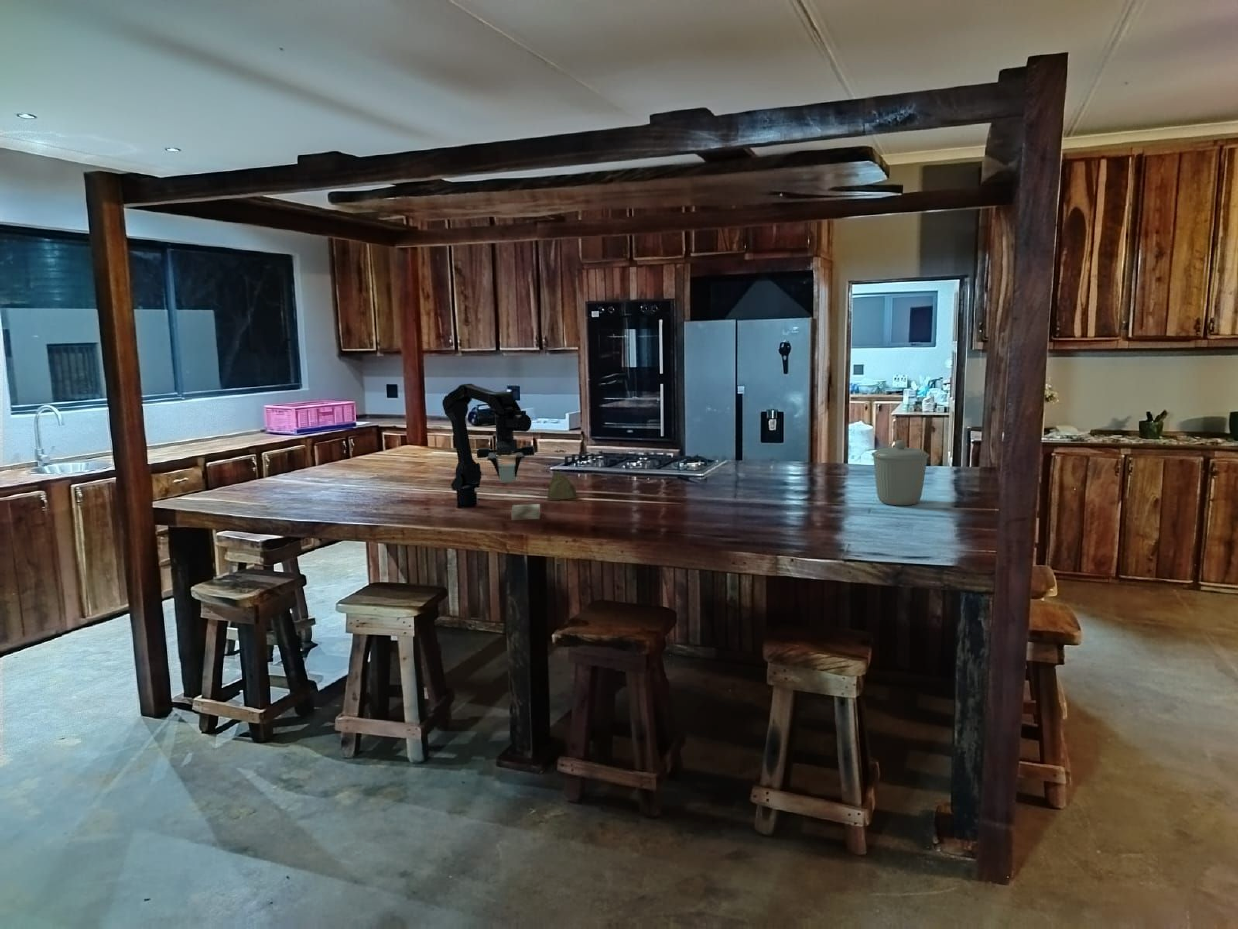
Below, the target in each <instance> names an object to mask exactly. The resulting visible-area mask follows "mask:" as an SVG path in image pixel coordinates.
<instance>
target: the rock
mask: <svg viewBox="0 0 1238 929" xmlns="http://www.w3.org/2000/svg"><path fill="white" fill-rule="evenodd" d="M548 487H549V488H548V491H547V498H546V501H560V500H570V499H577V498H579V496H578V495H579V494H578V493H577V490H576V487H575V486H574V485H573V483H572V482H571V481H570V480H569V478H568V477H567V476H566V475H564V474H563V473H561V472H560V471H554V472H553V474H552V477H551V480H550V484H549V486H548Z"/></svg>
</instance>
